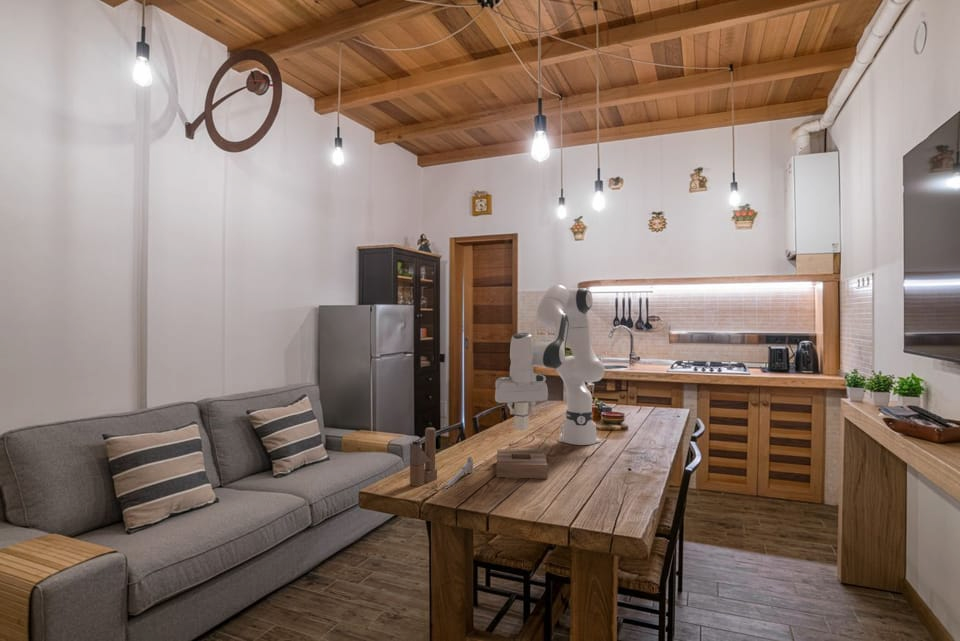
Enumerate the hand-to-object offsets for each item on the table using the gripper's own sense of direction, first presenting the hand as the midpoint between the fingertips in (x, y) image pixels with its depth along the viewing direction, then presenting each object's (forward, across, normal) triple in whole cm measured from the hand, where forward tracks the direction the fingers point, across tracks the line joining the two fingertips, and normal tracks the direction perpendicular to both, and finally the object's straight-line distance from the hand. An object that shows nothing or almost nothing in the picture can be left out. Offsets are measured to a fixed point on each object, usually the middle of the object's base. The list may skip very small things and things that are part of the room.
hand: (521, 413), depth 190 cm
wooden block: (+21, -38, -3) cm, 43 cm away
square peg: (+6, 0, 0) cm, 6 cm away
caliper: (+22, -25, -5) cm, 34 cm away
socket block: (+21, 0, 0) cm, 21 cm away
